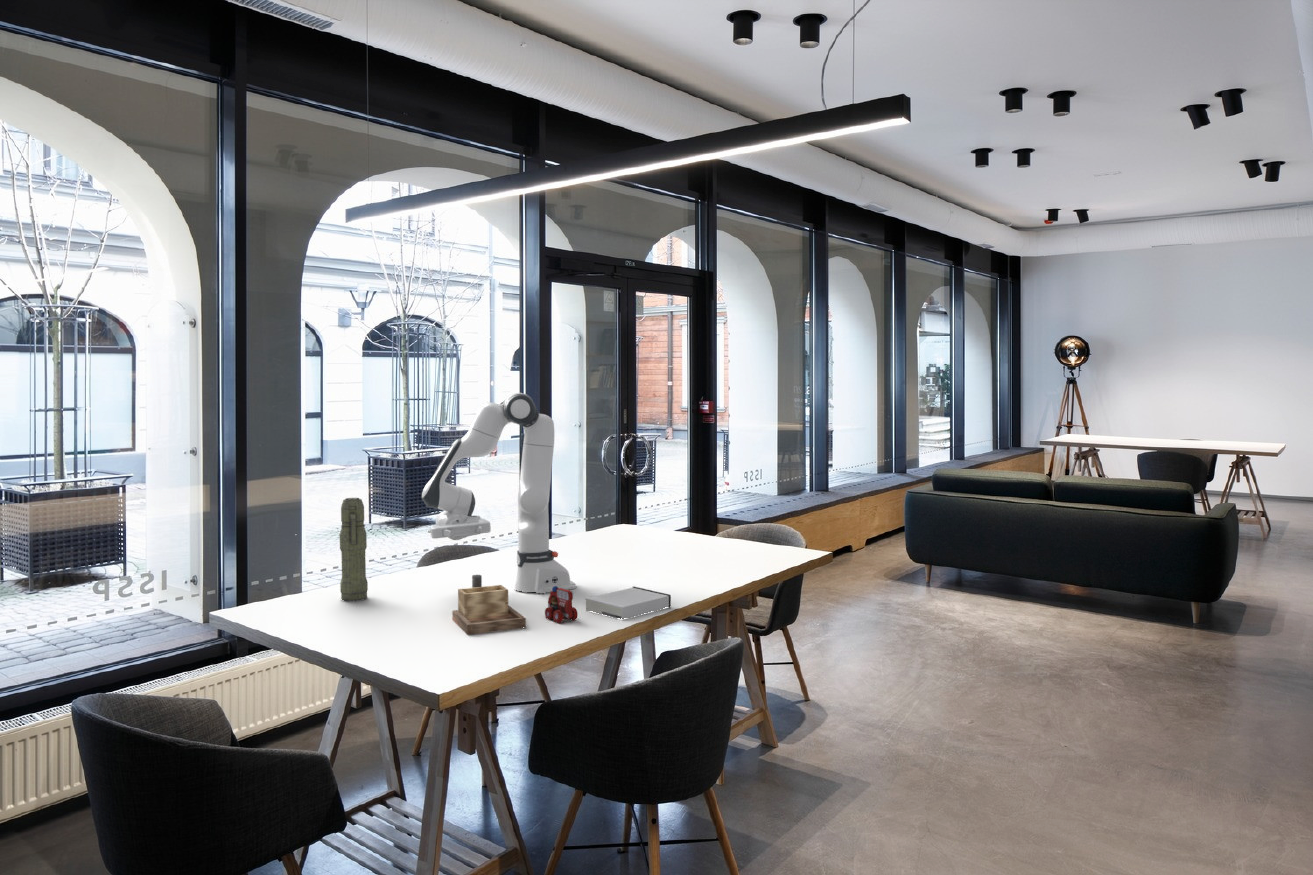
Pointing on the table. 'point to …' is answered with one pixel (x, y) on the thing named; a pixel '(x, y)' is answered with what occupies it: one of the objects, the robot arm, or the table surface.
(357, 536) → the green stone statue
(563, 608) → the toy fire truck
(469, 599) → the crate
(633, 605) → the disc drive
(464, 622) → the tray
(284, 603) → the table surface
